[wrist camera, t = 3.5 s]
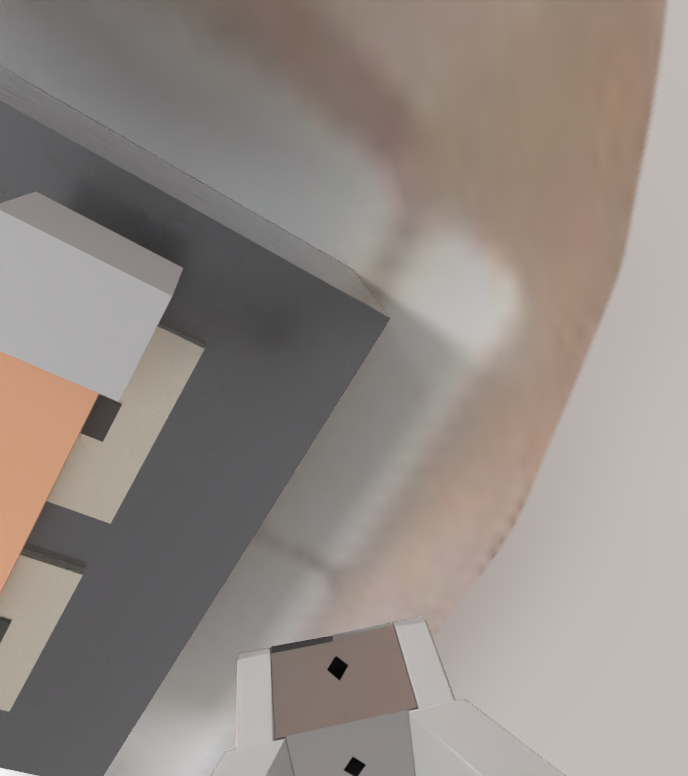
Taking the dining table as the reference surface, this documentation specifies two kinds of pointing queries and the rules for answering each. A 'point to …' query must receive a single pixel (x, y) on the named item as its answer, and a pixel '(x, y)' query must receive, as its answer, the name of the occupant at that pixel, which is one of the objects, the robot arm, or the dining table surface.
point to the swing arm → (63, 343)
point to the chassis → (160, 435)
